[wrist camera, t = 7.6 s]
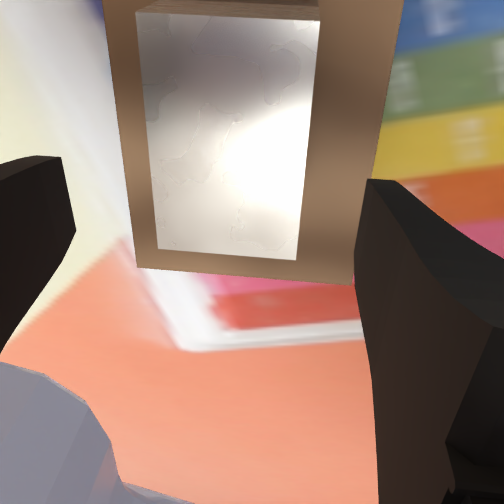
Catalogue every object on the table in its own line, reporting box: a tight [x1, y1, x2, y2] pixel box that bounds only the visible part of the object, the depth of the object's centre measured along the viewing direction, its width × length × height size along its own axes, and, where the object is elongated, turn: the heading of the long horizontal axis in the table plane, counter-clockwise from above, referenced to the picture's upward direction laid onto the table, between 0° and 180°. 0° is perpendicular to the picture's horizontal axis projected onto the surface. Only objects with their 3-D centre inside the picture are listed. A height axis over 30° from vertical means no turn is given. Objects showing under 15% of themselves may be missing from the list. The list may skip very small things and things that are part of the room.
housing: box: [135, 0, 320, 260], centre depth 16 cm, size 7×4×5 cm, turn 178°
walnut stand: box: [102, 0, 404, 285], centre depth 19 cm, size 16×10×2 cm, turn 178°
